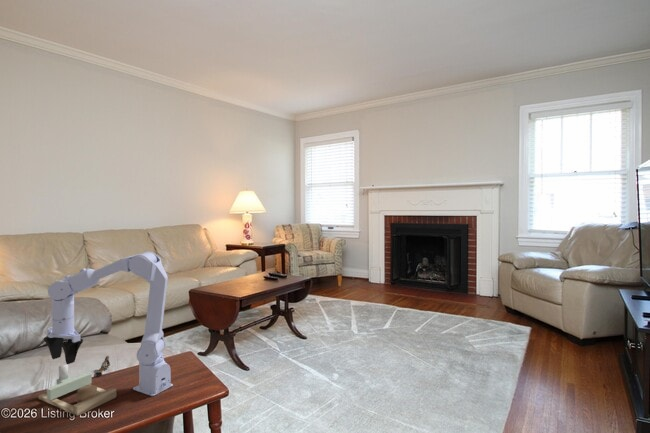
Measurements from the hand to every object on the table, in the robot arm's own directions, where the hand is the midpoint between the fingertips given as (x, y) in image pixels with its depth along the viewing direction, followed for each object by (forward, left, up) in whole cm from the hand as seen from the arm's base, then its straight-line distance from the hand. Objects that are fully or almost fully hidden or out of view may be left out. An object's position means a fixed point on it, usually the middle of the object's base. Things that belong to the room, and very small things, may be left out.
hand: (63, 360), depth 116 cm
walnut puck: (-12, 0, -10) cm, 16 cm away
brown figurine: (+3, -15, -11) cm, 19 cm away
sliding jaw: (-2, 0, -9) cm, 9 cm away
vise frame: (-8, 0, -10) cm, 13 cm away
